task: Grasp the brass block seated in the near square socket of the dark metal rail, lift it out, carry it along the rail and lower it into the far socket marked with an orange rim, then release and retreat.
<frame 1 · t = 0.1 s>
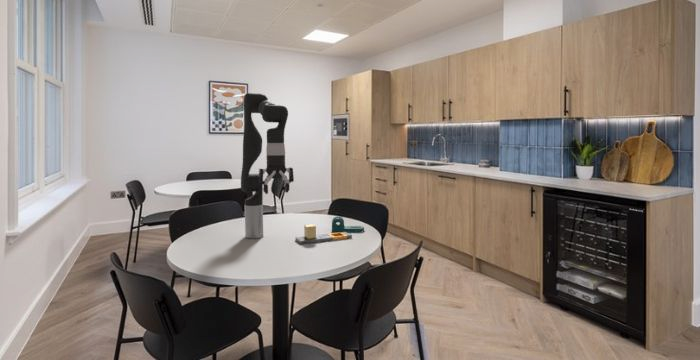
hand: (276, 192, 164), 29 cm above the table, fingers open, 8 cm apart
bracket: (348, 231, 220), on the table
rail: (324, 239, 202), on the table
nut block: (310, 241, 199), resting in rail
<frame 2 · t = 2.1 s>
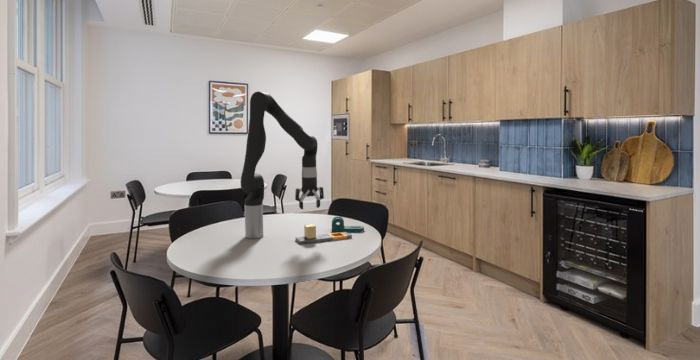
hand: (309, 208, 197), 17 cm above the table, fingers open, 8 cm apart
nothing on the table moved.
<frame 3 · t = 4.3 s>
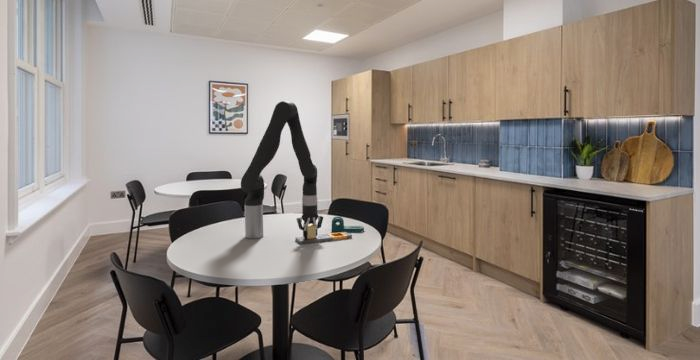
hand: (310, 236, 199), 2 cm above the table, fingers closed on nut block, 4 cm apart
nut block: (310, 241, 199), resting in rail, touching gripper
everything else where it was.
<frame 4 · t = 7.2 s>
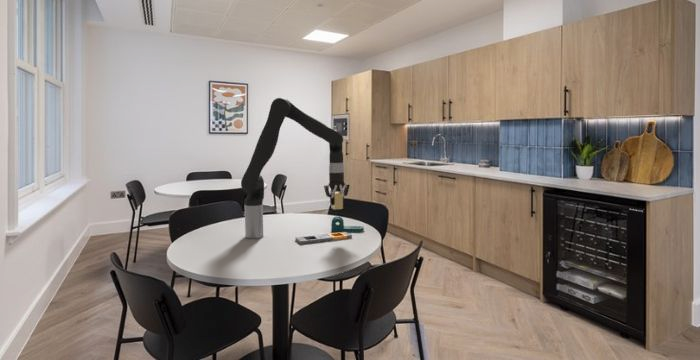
hand: (337, 204, 203), 18 cm above the table, fingers closed on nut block, 4 cm apart
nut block: (337, 208, 203), point 16 cm above the table, touching gripper
everything else where it was.
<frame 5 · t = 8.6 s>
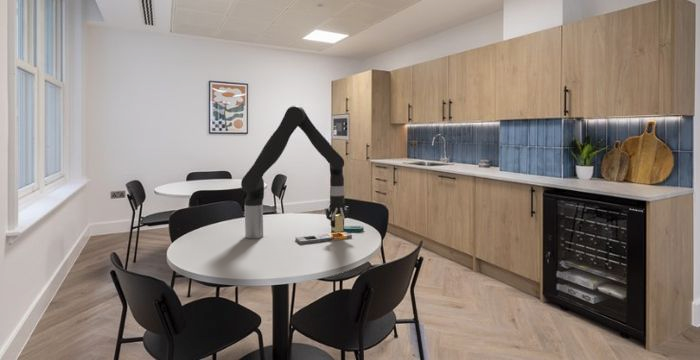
hand: (337, 226, 205), 6 cm above the table, fingers closed on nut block, 4 cm apart
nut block: (337, 230, 205), point 4 cm above the table, touching gripper
everything else where it was.
when the fingers open (3 cm above the table, at t = 10.0 s): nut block stays where it is, resting in rail.
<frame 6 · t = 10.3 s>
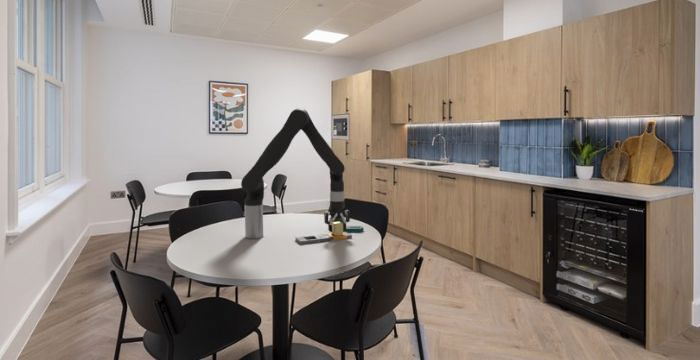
hand: (337, 230, 205), 4 cm above the table, fingers open, 7 cm apart
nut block: (337, 237, 205), resting in rail
everything else where it was.
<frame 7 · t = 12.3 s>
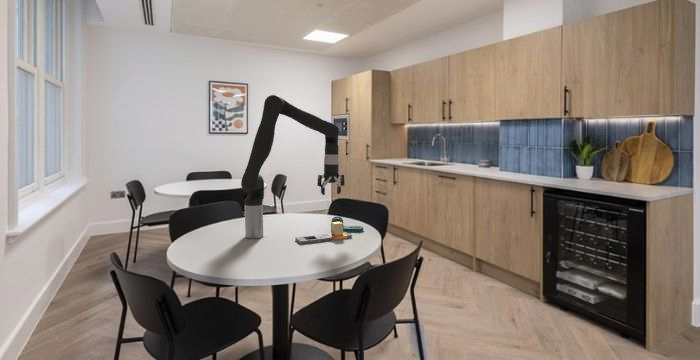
hand: (330, 194, 204), 23 cm above the table, fingers open, 8 cm apart
nothing on the table moved.
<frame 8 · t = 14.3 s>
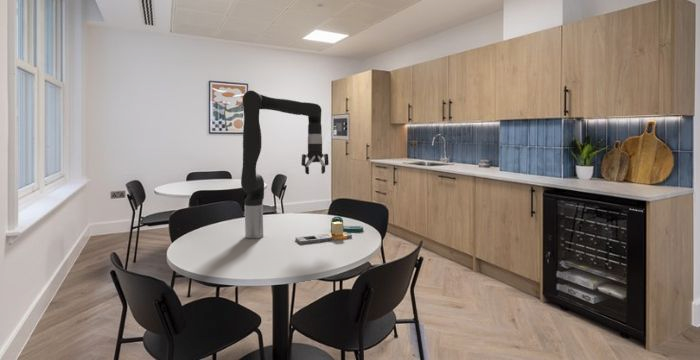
hand: (315, 173, 206), 33 cm above the table, fingers open, 8 cm apart
nothing on the table moved.
at the end: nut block 0.1 cm from the target spot on the rail, point 0.0 cm above the rail's base; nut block tilted 0°; the gripper is holding nothing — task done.
